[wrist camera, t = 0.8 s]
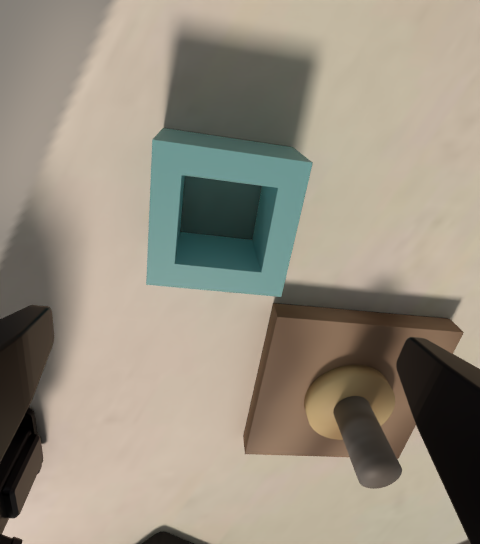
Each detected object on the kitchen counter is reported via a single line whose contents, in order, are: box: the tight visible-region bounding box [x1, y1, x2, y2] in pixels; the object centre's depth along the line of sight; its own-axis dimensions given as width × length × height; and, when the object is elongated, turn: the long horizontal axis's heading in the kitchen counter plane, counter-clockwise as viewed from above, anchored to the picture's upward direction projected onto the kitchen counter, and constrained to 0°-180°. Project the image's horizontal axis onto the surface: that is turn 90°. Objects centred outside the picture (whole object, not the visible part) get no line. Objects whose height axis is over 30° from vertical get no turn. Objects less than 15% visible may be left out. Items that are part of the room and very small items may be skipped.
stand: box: [243, 303, 464, 488], centre depth 23 cm, size 12×12×7 cm
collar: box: [146, 128, 312, 297], centre depth 18 cm, size 6×6×4 cm
